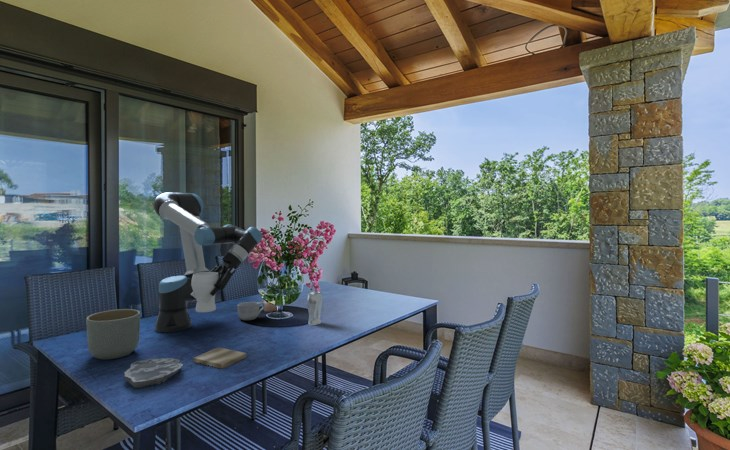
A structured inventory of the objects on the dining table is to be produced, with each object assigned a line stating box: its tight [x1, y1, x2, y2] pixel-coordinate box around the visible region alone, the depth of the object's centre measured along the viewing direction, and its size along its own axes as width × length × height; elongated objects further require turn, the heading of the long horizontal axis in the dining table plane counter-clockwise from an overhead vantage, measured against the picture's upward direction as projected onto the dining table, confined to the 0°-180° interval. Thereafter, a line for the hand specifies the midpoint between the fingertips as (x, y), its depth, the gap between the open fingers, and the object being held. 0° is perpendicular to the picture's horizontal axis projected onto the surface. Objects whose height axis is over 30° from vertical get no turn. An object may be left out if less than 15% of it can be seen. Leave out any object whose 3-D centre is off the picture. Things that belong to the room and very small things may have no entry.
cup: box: [191, 272, 219, 313], centre depth 158 cm, size 11×11×15 cm
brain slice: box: [123, 357, 184, 389], centre depth 128 cm, size 20×17×3 cm
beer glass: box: [307, 291, 323, 326], centre depth 188 cm, size 7×7×15 cm
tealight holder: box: [263, 299, 277, 313], centre depth 213 cm, size 8×8×6 cm
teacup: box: [237, 301, 265, 321], centre depth 195 cm, size 14×11×8 cm
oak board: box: [192, 346, 248, 370], centre depth 142 cm, size 14×12×2 cm
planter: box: [85, 308, 141, 361], centre depth 145 cm, size 17×17×15 cm
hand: (198, 298), depth 156 cm, fingers closed on cup, 10 cm apart
